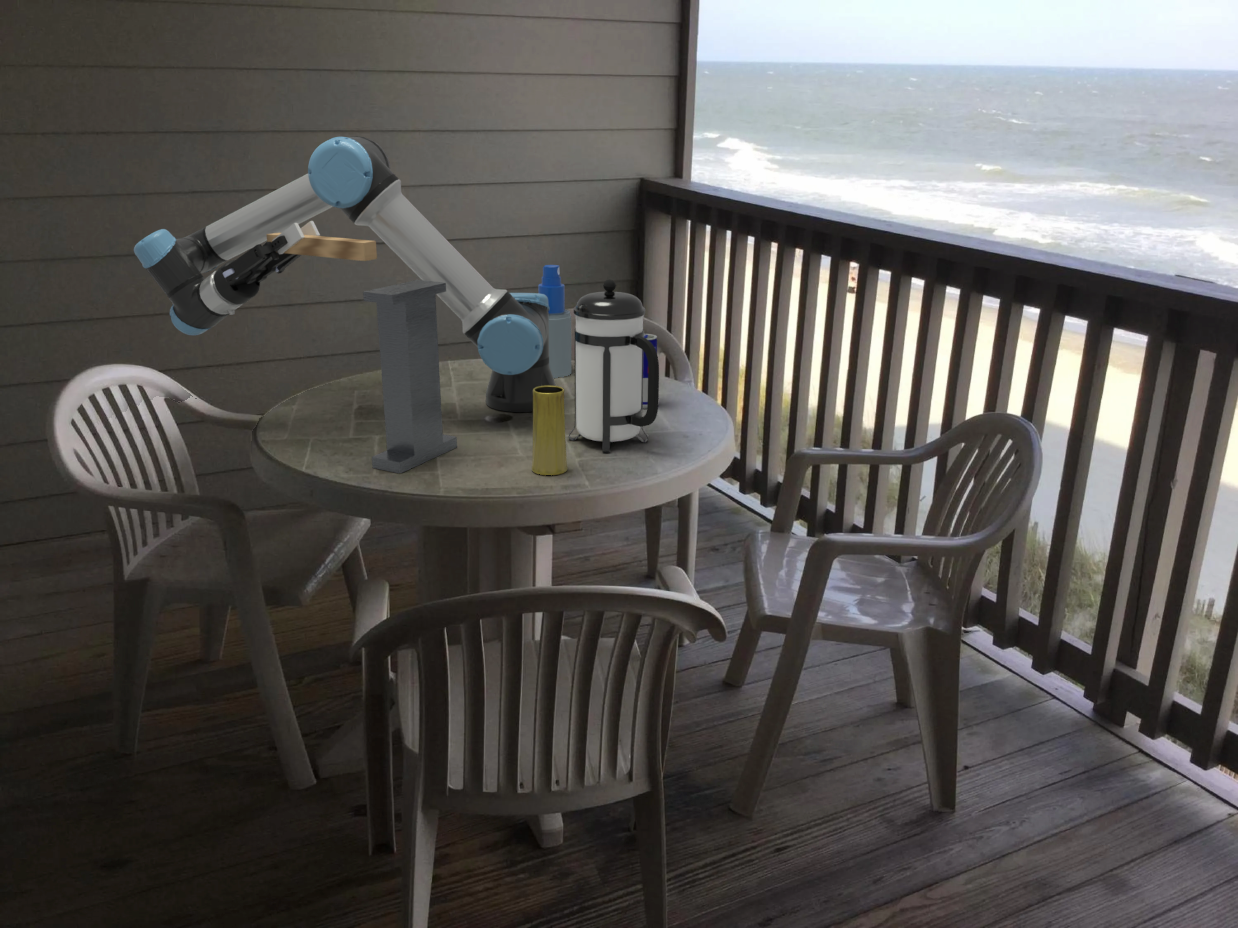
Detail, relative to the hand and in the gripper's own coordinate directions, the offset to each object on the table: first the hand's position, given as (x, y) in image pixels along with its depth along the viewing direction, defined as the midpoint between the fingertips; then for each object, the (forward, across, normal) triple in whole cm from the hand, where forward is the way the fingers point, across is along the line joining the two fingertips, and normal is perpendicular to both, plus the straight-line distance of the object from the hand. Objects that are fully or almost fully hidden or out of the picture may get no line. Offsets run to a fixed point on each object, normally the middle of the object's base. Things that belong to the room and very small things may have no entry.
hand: (307, 229), depth 171 cm
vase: (+20, -6, -56) cm, 59 cm away
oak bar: (0, 0, -5) cm, 5 cm away
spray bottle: (-10, -63, -39) cm, 74 cm away
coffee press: (+22, -25, -57) cm, 66 cm away
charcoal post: (-1, 0, -43) cm, 43 cm away
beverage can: (+17, -49, -54) cm, 75 cm away
